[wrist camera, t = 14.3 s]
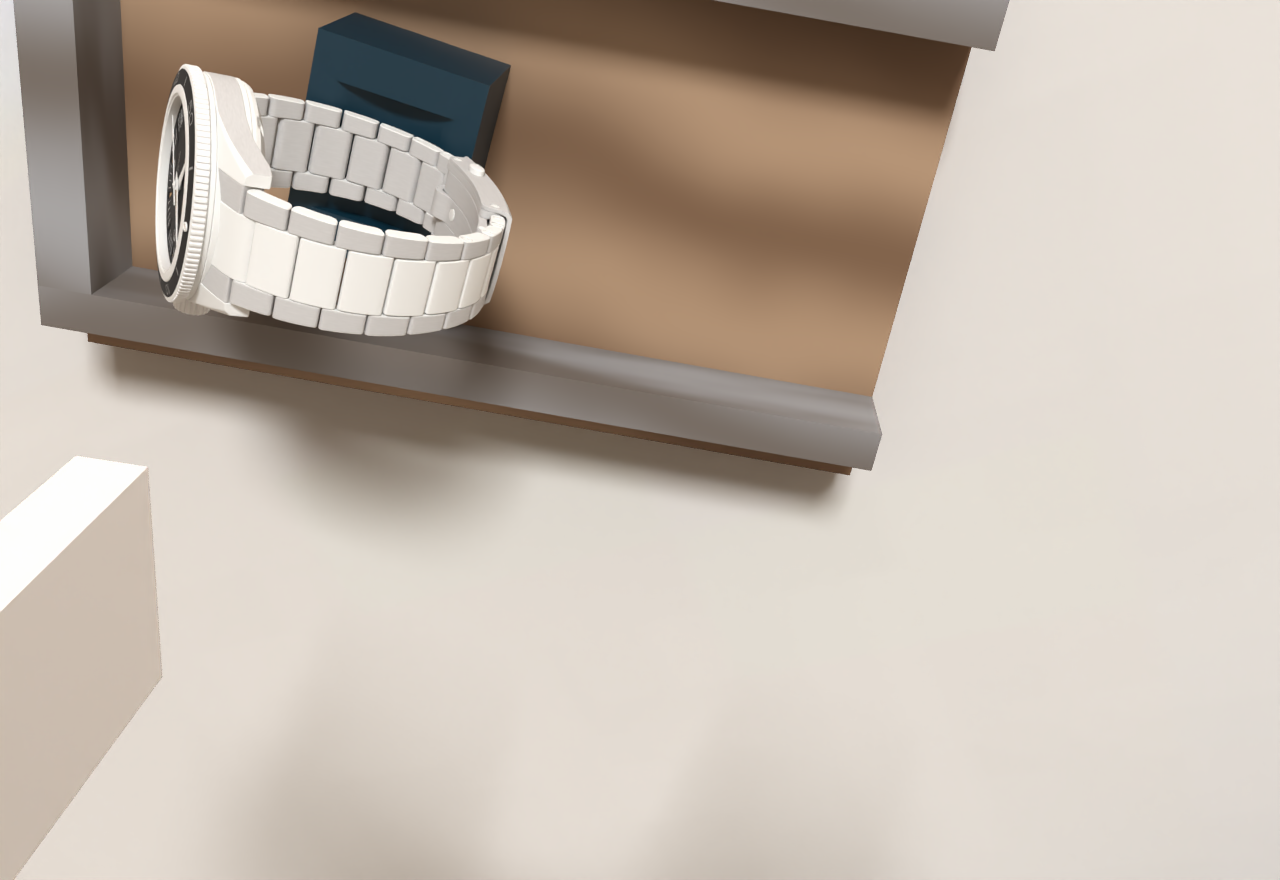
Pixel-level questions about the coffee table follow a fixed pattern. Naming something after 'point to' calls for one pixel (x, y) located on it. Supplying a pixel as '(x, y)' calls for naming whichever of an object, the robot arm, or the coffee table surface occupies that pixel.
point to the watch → (337, 187)
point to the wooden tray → (559, 202)
